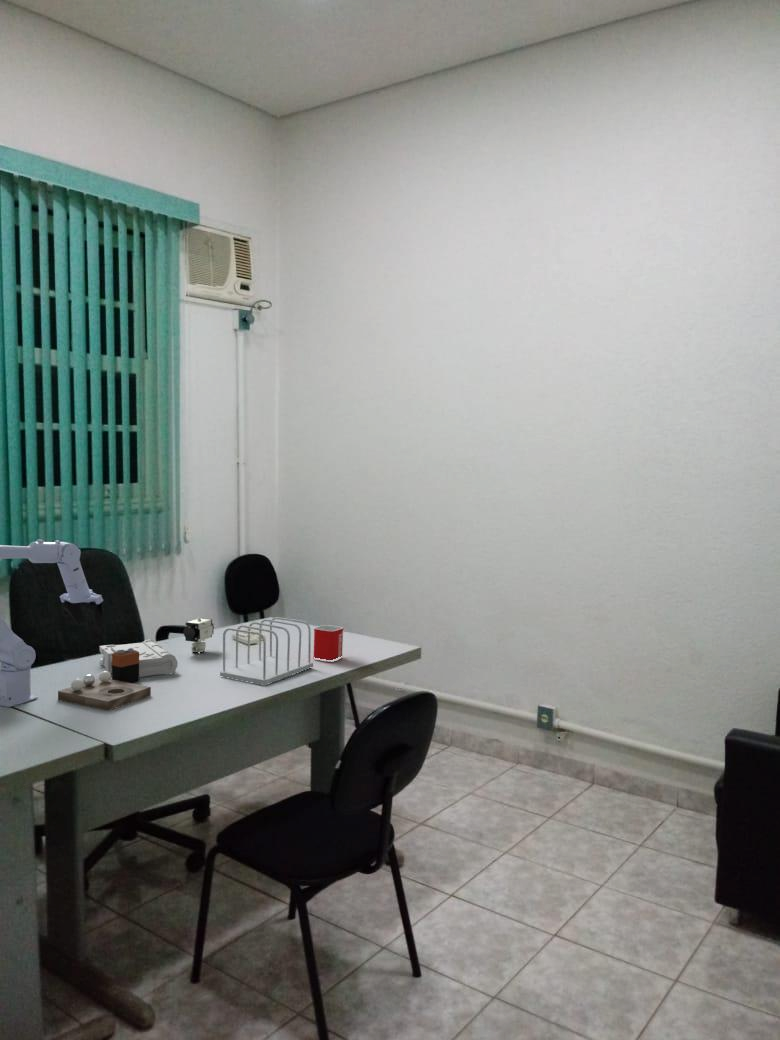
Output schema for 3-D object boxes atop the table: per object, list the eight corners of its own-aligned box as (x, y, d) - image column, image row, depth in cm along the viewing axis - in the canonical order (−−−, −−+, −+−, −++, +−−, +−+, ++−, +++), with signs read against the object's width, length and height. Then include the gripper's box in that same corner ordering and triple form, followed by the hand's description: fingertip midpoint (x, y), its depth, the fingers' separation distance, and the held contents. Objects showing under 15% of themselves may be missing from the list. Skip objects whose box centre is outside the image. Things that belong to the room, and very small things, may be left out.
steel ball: (88, 687, 228) (88, 676, 227) (80, 686, 229) (80, 674, 229) (97, 685, 231) (97, 673, 230) (89, 683, 232) (89, 672, 232)
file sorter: (270, 661, 274) (271, 614, 273) (313, 669, 266) (314, 621, 264) (219, 677, 252) (220, 626, 251) (264, 686, 244) (265, 634, 243)
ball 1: (77, 692, 223) (77, 681, 222) (68, 691, 224) (68, 679, 224) (86, 690, 226) (86, 678, 225) (77, 688, 227) (77, 676, 227)
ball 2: (105, 684, 232) (105, 673, 231) (96, 682, 233) (96, 671, 233) (113, 681, 235) (113, 670, 234) (105, 679, 236) (105, 668, 236)
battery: (110, 684, 241) (111, 650, 240) (130, 679, 247) (130, 646, 246) (120, 686, 239) (120, 652, 238) (139, 682, 244) (140, 648, 243)
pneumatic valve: (182, 655, 277) (183, 619, 276) (202, 648, 288) (202, 614, 287) (196, 657, 275) (197, 621, 275) (216, 649, 286) (216, 615, 286)
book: (152, 654, 278) (152, 632, 277) (178, 674, 254) (178, 650, 254) (92, 661, 268) (92, 638, 267) (114, 683, 244) (113, 658, 244)
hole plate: (107, 710, 216) (107, 701, 216) (57, 700, 224) (58, 690, 224) (150, 695, 231) (150, 687, 230) (102, 686, 238) (102, 677, 238)
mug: (332, 663, 273) (332, 631, 272) (310, 660, 277) (311, 628, 276) (350, 656, 284) (351, 625, 283) (329, 652, 287) (330, 622, 286)
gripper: (104, 576, 234) (118, 618, 239) (67, 575, 241) (81, 616, 245) (86, 587, 228) (101, 630, 233) (49, 586, 235) (64, 628, 240)
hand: (90, 624), depth 239 cm, fingers open, 7 cm apart
